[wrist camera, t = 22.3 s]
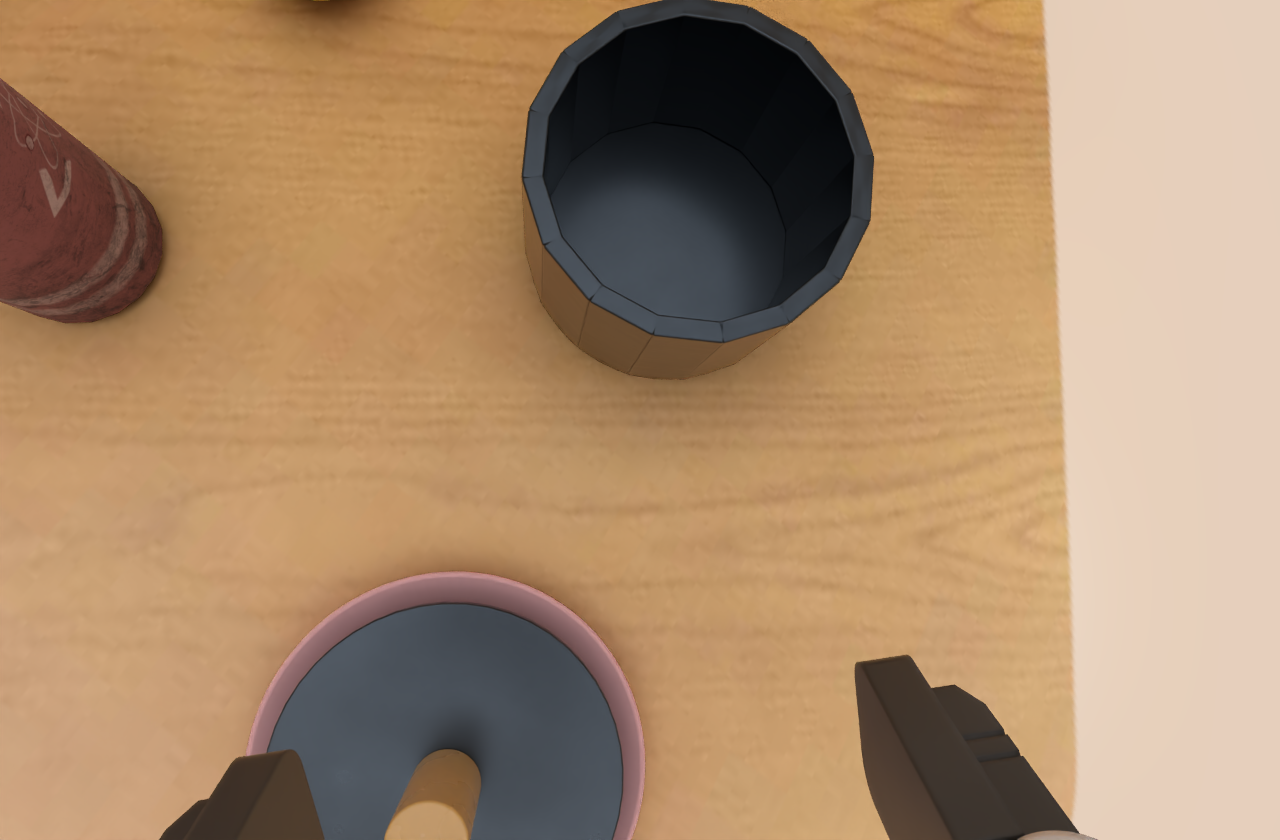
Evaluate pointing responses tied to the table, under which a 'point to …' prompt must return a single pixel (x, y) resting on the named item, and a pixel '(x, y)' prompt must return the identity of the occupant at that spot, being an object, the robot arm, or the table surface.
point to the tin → (690, 186)
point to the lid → (455, 731)
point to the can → (68, 222)
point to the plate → (484, 592)
